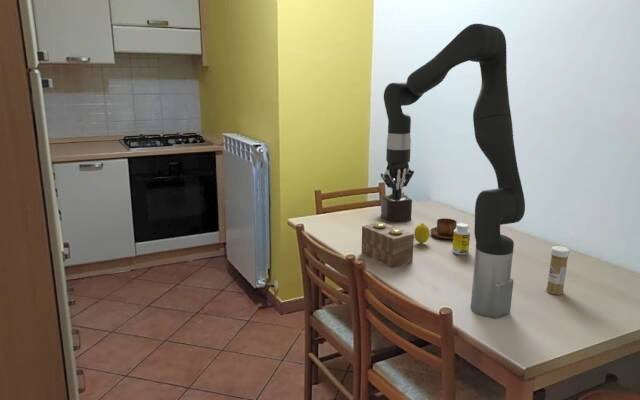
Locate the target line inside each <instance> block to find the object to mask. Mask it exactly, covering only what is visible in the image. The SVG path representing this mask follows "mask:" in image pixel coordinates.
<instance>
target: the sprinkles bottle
mask: <svg viewBox="0 0 640 400" xmlns="http://www.w3.org/2000/svg"><path fill="white" fill-rule="evenodd" d="M550 254H551V255H550V256H551V257H550V264H549V269H548V274H547V275H548V277H547V283H546V284H547V285H546V292H548V293H549V294H552V295H563V294H564V288H565V280H566V275H567V268H568V266H567V265H568V258H569V256H570V249H569V248H568V247H564V246H561V245H560V246H557V245H555V246H552V247H551V251H550Z"/></svg>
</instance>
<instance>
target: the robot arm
mask: <svg viewBox="0 0 640 400" xmlns="http://www.w3.org/2000/svg"><path fill="white" fill-rule="evenodd" d="M507 59H508V58H507V40H506V36H505V33H504V32H503V31H502V29H500V28H499V27H497V26H495V25H494V26H493V25H489V24H483V23H472V24H469V25H468V26H466V27H465V28H464V29H462V30H461V31H460V32H459V33H458V34H457V35H455V37H454V38H453V39H452V40H451V41H450V42H449V43H448V44H447V45H445V47H444V48H443V49H441V51H439V52H438V53H437V54H436V55H435V56H434V57H433V58H431V59H430V60H428V61H427V62H426V63H425V64H424V65H422V66H420V67H419V68H417V69H416V70H414V71H413V72H411V73H410V74H409V75H408V76H407V78H406V81H405V82H391V83H390V82H389V84H387V86H386V87H385V88H384V91H383V101H384V103H383V104H384V107H385V112H386V116H387V120H388V121H387V123H388V124H387V125H388V126H387V136H386V137H387V138H386V155H385V156H386V162H387V166H386V170H385V172H381V173H380V177H381V179H382V180H383V182H384V184H385V186H387V188H388V189H389V188H390V189H391V190H392V191H391V194H392V198H393V200H395V201H398V200H401V194H403V192H402V190H403V188H405V187H407V186H408V184H409V183H410V181H411V179H412V177H413V176H414V173H415V170H413V169H410V166H409V163H410V162H411V150H412V149H411V145H412V140H411V139H412V138H411V137H412V136H411V127H412V125H411V124H412V120H411V116H410V114H408V113H404V112H403V109H402V107H403V106H410V105H412V104H415V103H416V102H417V101H419V100H420V98H422V96H423V95H424V94H425V93H427V92H428V91H430V90H432V89H433V88H435V87H436V86H439V85H440V84H441V83H442V82H443V81H444V80H445V78H446V77H447V76H448V73H449V72H450V71H451V70H452V69H453V68H454V67H456V66H459V65H461V64H463V63H467V62H474V63H479V68H480V75H481V76H480V77H481V86H480V91H479V93H478V96H477V99H476V101H475V105H474V108H473V112H472V122H473V130H474V131H473V132H474V138H475V141H476V143H477V146H478V147H479V149H480V151H481V152H482V153H483V155H484V156H485V157H486V159H487V161H488V162H489V163H490V165H491V166H492V168H493V170H494V173H495V176H496V182H497V188H492V189H491V188H490V189H483V190H482V191H480V192H479V193H478V195H477V198H476V200H475V206H474V228H473V229H474V231H473V232H474V239H475V253H474V266H473V273H472V274H473V275H472V286H471V287H472V288H471V298H470V299H471V300H470V309H471V310H472V311H473V312H474V313H475V314H478V315H480V316H484V317H488V318H493V319H499V318H501V317H503V316H505V315H509V314H510V313H511V309H512V299H513V289H514V279H513V278H511V275H512V265H513V255H514V248H515V247H514V246H515V243H514V240H513V239H512V238H511V237H509V236H507V235H503V234H501V225H508V224H515V223H516V224H517V223H519V222H520V221H521V220H523V217H524V215H525V212H526V202H525V201H526V200H525V195H524V190H523V185H522V181H521V180H522V179H521V177H520V173H519V168H518V163H517V155H516V149H515V141H514V129H513V121H512V120H513V119H512V112H511V106H510V97H509V86H508V75H507V71H508V70H507V69H508V68H507ZM400 178H401V179H400ZM399 182H400V183H399Z"/></svg>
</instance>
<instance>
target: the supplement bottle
mask: <svg viewBox="0 0 640 400" xmlns="http://www.w3.org/2000/svg"><path fill="white" fill-rule="evenodd" d="M470 241H471V231H470V230H469V224H467V223H465V222H464V223H461V222H460V223H457V224H456V229H455V230H454V235H453V239H452V252H453V254H456V255H461V256H462V255H463V256H464V255H468V254H469V250H470Z"/></svg>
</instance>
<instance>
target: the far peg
mask: <svg viewBox="0 0 640 400" xmlns="http://www.w3.org/2000/svg"><path fill="white" fill-rule="evenodd" d="M384 223H385V222H383V223H379V222H375V223H373V224H374V227H375V228H377V229H382V228H385V226H386V224H387V223H386V224H384Z"/></svg>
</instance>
